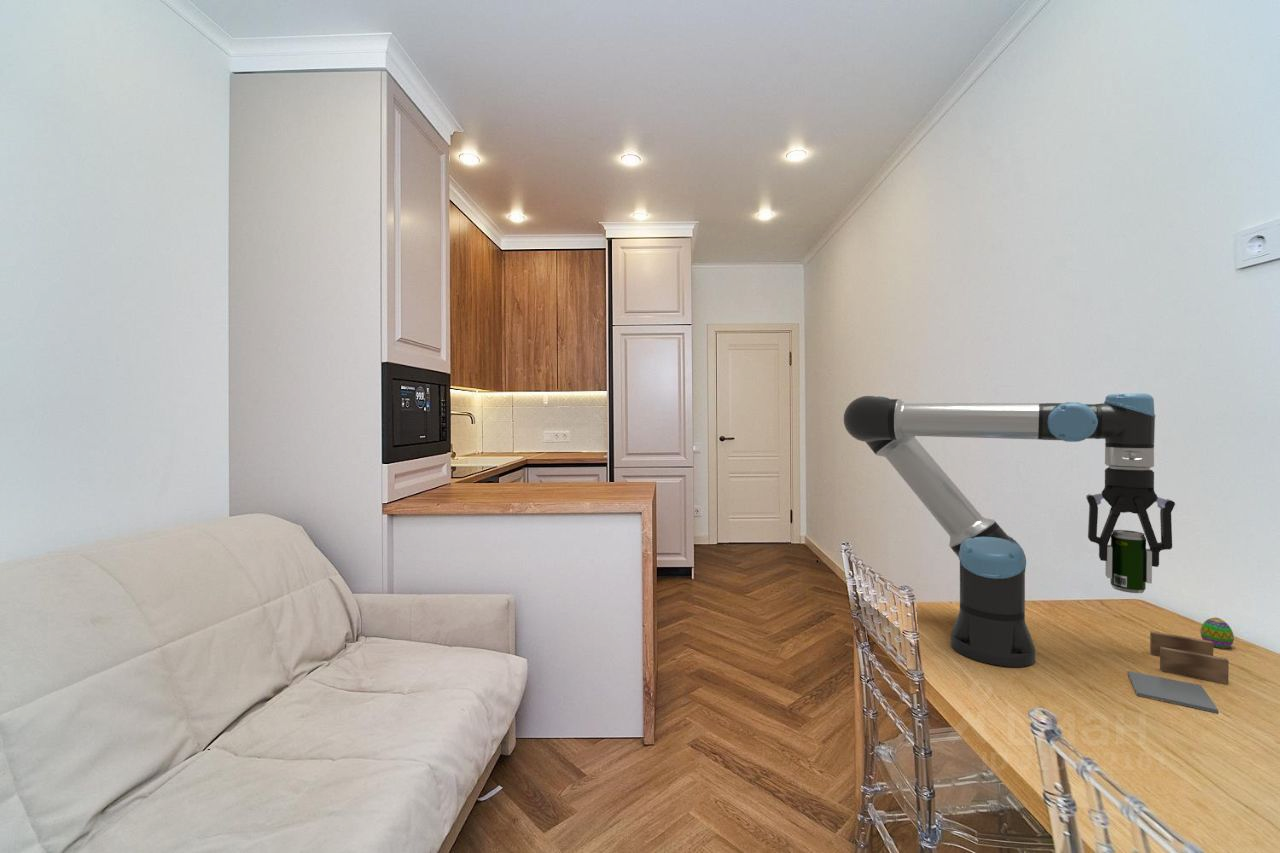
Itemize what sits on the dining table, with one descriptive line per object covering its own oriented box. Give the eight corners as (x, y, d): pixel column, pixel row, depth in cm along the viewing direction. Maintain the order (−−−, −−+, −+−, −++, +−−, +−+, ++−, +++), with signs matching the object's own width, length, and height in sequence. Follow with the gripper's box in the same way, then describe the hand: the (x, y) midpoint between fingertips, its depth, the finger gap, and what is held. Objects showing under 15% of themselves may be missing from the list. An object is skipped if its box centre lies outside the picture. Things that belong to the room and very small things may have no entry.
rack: (1161, 671, 103) (1161, 648, 103) (1150, 652, 112) (1150, 631, 111) (1228, 684, 98) (1228, 660, 98) (1211, 663, 106) (1211, 641, 106)
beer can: (1139, 595, 106) (1140, 536, 106) (1105, 588, 111) (1106, 531, 111) (1149, 591, 109) (1150, 533, 109) (1116, 583, 113) (1117, 528, 113)
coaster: (1137, 695, 94) (1137, 692, 94) (1127, 673, 102) (1127, 670, 102) (1218, 713, 88) (1218, 709, 88) (1201, 688, 97) (1201, 685, 97)
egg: (1210, 639, 118) (1210, 612, 118) (1239, 648, 113) (1240, 621, 113) (1194, 641, 117) (1194, 615, 116) (1223, 651, 112) (1223, 623, 112)
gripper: (1073, 467, 111) (1072, 575, 112) (1197, 471, 101) (1195, 592, 101) (1070, 464, 118) (1069, 567, 118) (1186, 468, 107) (1185, 582, 107)
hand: (1127, 578), depth 110 cm, fingers closed on beer can, 5 cm apart
